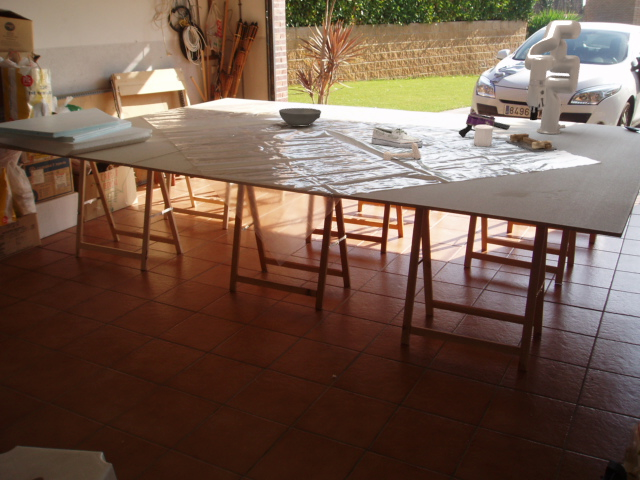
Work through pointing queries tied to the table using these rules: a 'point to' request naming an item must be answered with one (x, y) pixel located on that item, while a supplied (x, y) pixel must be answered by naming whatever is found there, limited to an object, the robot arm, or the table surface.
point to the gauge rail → (526, 139)
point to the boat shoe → (394, 138)
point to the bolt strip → (528, 146)
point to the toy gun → (481, 123)
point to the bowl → (299, 115)
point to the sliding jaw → (540, 144)
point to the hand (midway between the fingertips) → (533, 119)
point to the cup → (483, 135)
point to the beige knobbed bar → (415, 153)
